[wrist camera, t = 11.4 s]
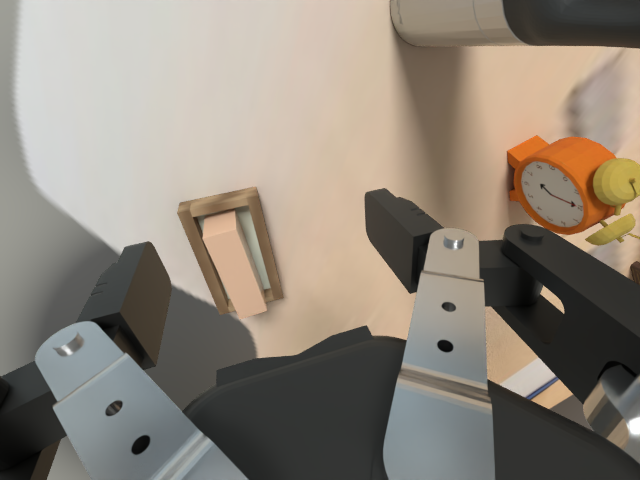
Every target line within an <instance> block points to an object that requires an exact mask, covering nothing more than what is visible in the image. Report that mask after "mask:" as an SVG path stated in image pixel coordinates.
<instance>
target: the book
mask: <svg viewBox="0 0 640 480" xmlns="http://www.w3.org/2000/svg"><path fill="white" fill-rule="evenodd" d="M631 271H632V275H633V280H634V282H635V283H637V284H638V285H640V263H639V262H637V261H636V262H634V263H633V264H632V265H631Z"/></svg>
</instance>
